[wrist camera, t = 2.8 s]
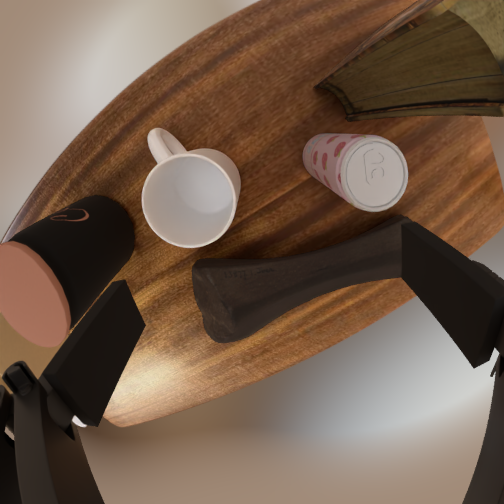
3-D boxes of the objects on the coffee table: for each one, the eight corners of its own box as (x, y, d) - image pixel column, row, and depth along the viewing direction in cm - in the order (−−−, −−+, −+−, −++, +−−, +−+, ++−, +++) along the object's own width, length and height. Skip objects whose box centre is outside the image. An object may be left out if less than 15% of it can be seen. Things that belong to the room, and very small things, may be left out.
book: (389, 19, 24) (518, -54, 1) (418, 49, 25) (564, 10, 2) (310, 89, 28) (435, 6, 5) (344, 122, 30) (511, 119, 7)
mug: (142, 149, 31) (102, 157, 22) (198, 108, 29) (175, 97, 20) (197, 228, 35) (177, 264, 26) (254, 192, 33) (255, 216, 24)
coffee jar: (122, 182, 33) (29, 229, 16) (149, 258, 37) (87, 346, 20) (63, 206, 34) (-26, 258, 17) (90, 273, 38) (22, 349, 21)
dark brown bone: (205, 294, 41) (381, 231, 41) (219, 361, 34) (417, 285, 34) (173, 248, 33) (389, 175, 32) (183, 329, 26) (440, 233, 26)
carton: (3, 287, 39) (-50, 336, 23) (37, 276, 38) (-25, 335, 22) (37, 348, 45) (-2, 403, 29) (76, 346, 44) (34, 413, 28)
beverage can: (331, 124, 30) (388, 119, 16) (356, 164, 32) (422, 188, 18) (292, 150, 31) (322, 162, 18) (319, 189, 33) (364, 230, 19)
